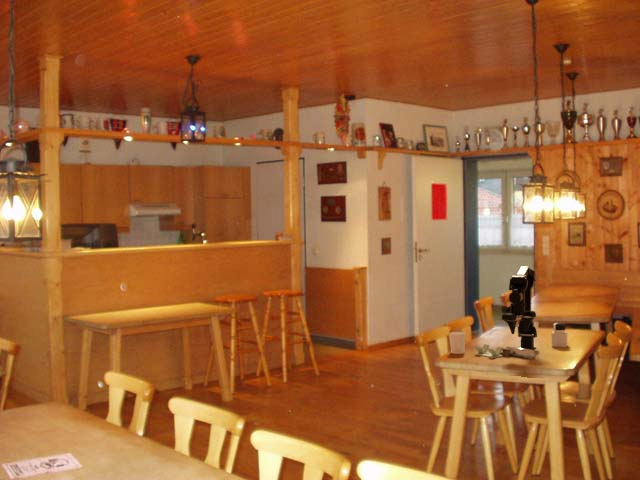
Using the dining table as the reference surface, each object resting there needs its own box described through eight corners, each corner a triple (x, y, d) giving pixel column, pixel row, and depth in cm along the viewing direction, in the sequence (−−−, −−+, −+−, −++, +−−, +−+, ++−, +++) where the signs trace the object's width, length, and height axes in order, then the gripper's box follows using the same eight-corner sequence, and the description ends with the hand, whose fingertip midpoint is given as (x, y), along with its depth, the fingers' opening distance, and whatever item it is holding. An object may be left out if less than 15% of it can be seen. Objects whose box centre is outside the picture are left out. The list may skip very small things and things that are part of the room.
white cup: (465, 354, 382) (465, 334, 382) (449, 354, 384) (449, 334, 383) (465, 351, 390) (465, 332, 389) (450, 351, 391) (449, 331, 391)
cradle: (485, 352, 385) (485, 344, 385) (503, 356, 375) (503, 347, 375) (474, 354, 381) (474, 346, 381) (492, 358, 371) (492, 349, 371)
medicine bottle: (567, 345, 399) (567, 322, 399) (565, 347, 393) (565, 324, 393) (553, 344, 402) (553, 321, 402) (551, 346, 396) (551, 323, 396)
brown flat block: (506, 352, 385) (505, 345, 385) (519, 354, 378) (519, 347, 378) (494, 354, 380) (494, 347, 380) (508, 356, 373) (507, 349, 373)
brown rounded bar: (504, 354, 377) (505, 345, 378) (510, 355, 380) (511, 346, 380) (528, 359, 365) (529, 349, 365) (534, 359, 368) (535, 350, 368)
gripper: (518, 298, 383) (519, 329, 384) (493, 301, 373) (493, 333, 374) (536, 300, 374) (536, 331, 375) (510, 303, 364) (511, 336, 364)
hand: (519, 333), depth 372 cm, fingers open, 9 cm apart
